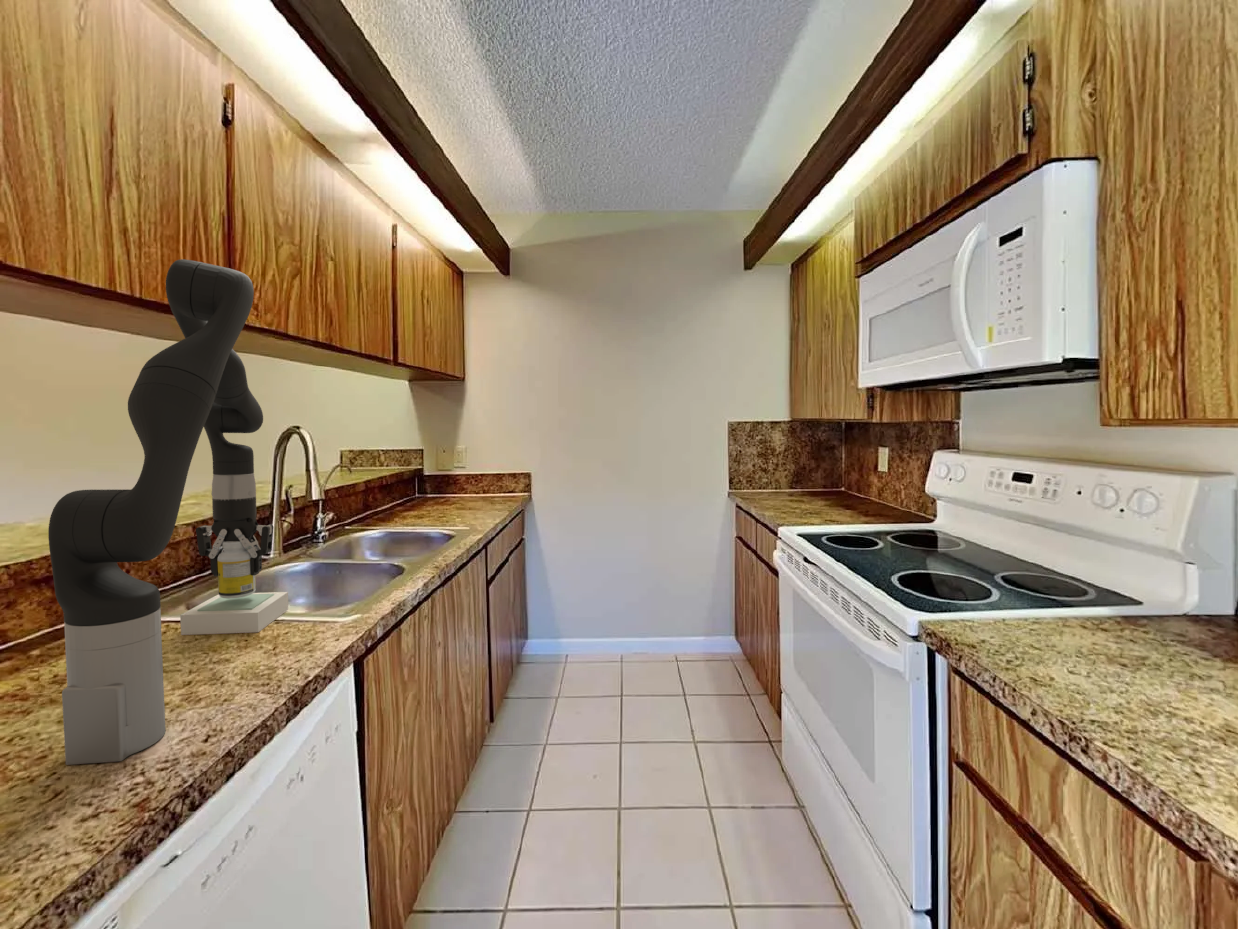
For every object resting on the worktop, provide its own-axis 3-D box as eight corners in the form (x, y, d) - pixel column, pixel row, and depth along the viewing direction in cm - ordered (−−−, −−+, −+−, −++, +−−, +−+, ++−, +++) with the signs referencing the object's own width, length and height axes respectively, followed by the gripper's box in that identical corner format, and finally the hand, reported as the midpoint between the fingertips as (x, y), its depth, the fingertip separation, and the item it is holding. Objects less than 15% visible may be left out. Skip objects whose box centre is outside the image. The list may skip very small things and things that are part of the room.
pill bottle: (235, 589, 122) (233, 536, 121) (263, 591, 121) (261, 537, 120) (210, 598, 115) (208, 542, 114) (239, 600, 115) (238, 543, 114)
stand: (258, 632, 113) (257, 611, 112) (181, 635, 111) (180, 613, 110) (288, 609, 127) (287, 590, 126) (219, 611, 124) (219, 592, 124)
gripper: (279, 493, 122) (281, 569, 123) (206, 493, 119) (208, 571, 120) (263, 497, 114) (265, 579, 115) (185, 498, 112) (187, 580, 113)
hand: (236, 574), depth 118 cm, fingers closed on pill bottle, 6 cm apart
